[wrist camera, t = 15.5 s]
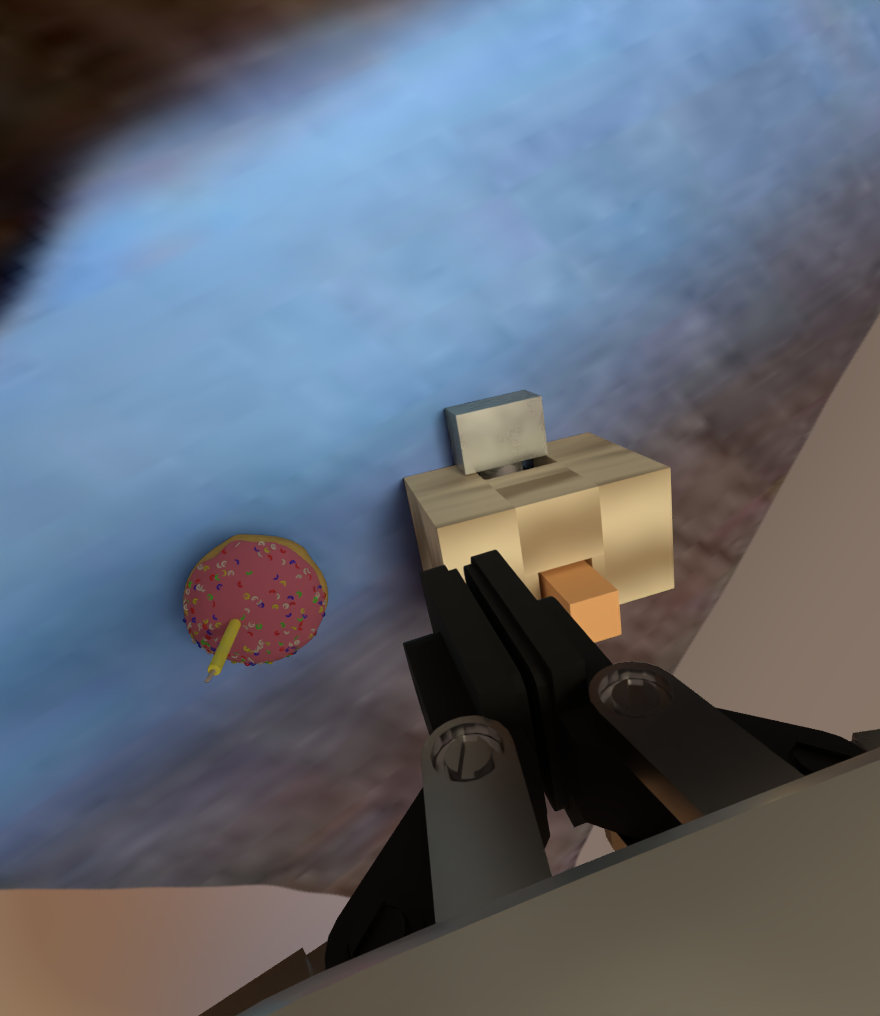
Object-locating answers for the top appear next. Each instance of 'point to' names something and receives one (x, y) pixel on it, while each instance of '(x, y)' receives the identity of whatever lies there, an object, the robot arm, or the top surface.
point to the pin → (497, 433)
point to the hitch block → (554, 516)
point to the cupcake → (254, 600)
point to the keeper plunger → (584, 598)
